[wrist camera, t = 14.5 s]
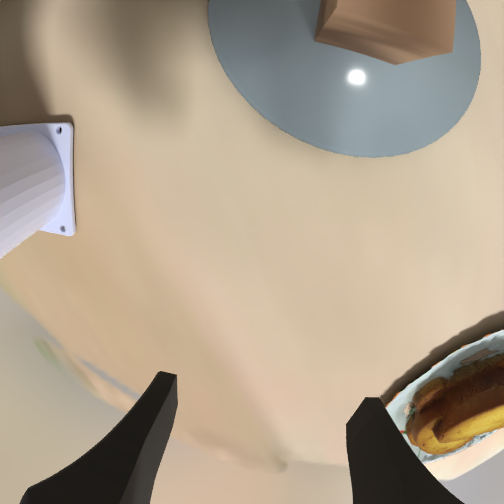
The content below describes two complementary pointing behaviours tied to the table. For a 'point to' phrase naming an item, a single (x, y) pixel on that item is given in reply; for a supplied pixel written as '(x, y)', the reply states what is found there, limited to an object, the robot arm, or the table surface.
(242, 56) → the slate dish
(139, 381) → the table surface
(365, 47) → the walnut block
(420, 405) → the food on plate
